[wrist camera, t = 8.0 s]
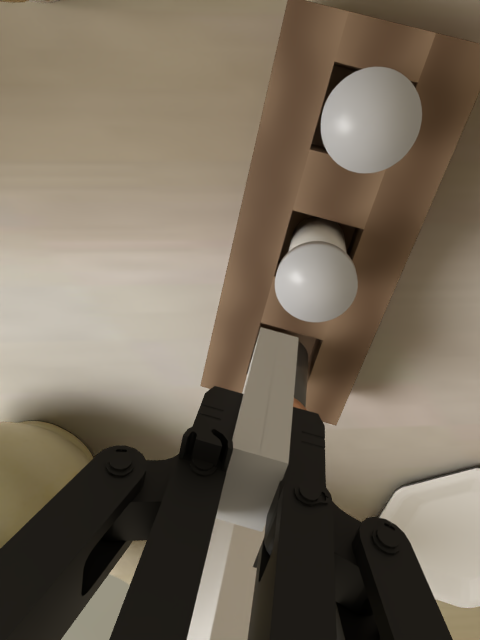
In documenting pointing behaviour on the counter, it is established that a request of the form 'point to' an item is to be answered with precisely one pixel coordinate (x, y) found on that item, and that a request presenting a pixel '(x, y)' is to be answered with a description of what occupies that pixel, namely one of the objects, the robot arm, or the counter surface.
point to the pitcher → (34, 469)
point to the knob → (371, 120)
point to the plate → (443, 532)
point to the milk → (226, 584)
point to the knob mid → (316, 272)
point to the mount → (335, 191)
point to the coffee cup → (41, 0)
